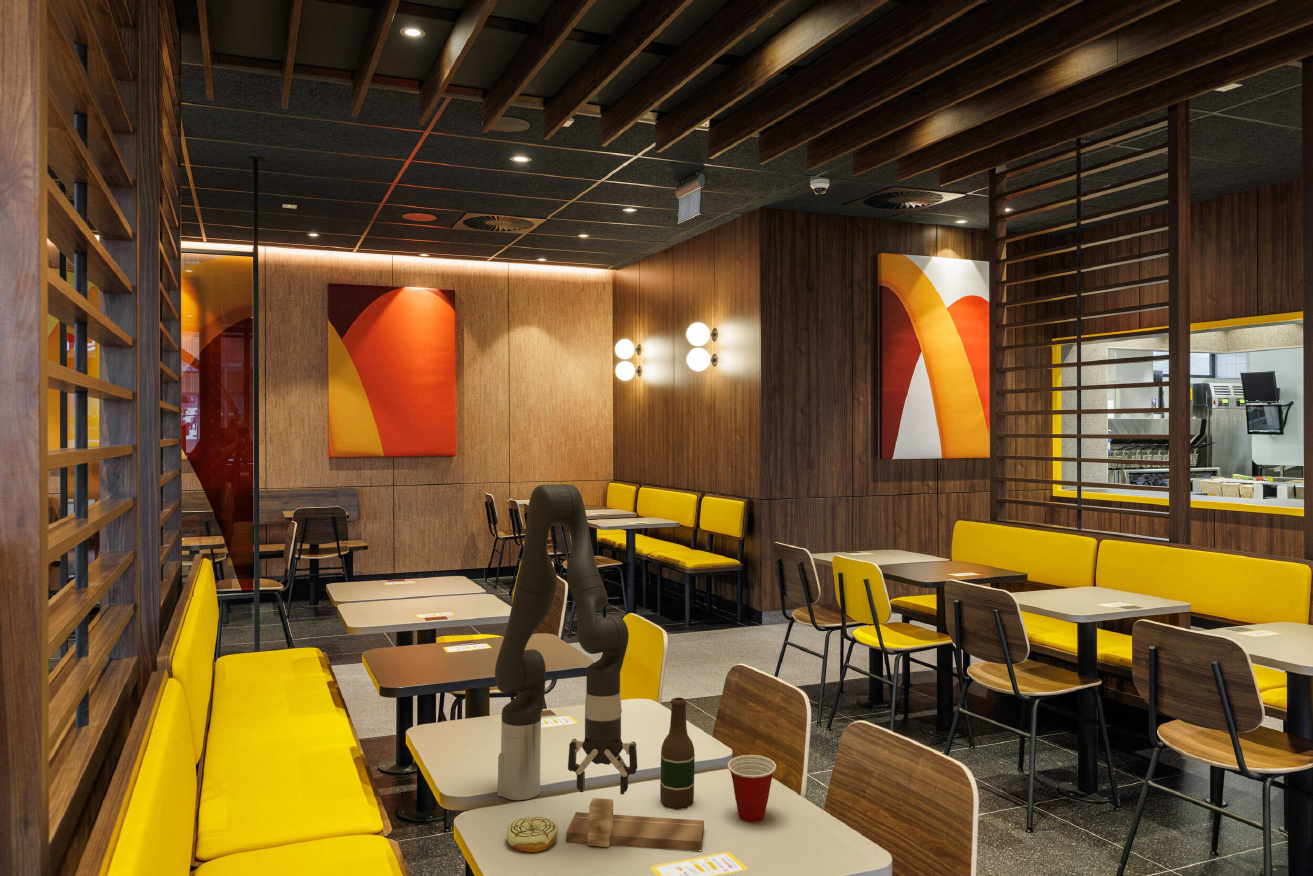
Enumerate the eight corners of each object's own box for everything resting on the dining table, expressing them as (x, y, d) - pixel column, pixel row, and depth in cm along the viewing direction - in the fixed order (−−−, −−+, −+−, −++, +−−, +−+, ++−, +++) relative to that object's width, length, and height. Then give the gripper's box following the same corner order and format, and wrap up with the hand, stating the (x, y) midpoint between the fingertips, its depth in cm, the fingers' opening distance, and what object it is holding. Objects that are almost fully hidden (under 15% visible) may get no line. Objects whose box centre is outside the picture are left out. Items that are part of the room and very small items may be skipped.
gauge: (587, 845, 182) (588, 808, 182) (595, 825, 191) (596, 789, 191) (608, 847, 181) (609, 809, 181) (616, 826, 191) (616, 791, 191)
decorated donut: (503, 855, 178) (503, 837, 178) (508, 831, 189) (509, 814, 189) (555, 854, 179) (556, 836, 179) (558, 831, 190) (558, 813, 190)
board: (566, 842, 184) (566, 832, 184) (575, 821, 194) (576, 812, 194) (701, 851, 181) (701, 841, 181) (703, 829, 191) (704, 820, 191)
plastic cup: (718, 821, 195) (719, 766, 195) (737, 803, 205) (738, 751, 205) (765, 832, 190) (766, 776, 190) (782, 813, 200) (783, 760, 200)
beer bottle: (694, 797, 208) (696, 695, 208) (692, 811, 200) (694, 705, 200) (661, 795, 209) (663, 693, 209) (658, 809, 201) (660, 703, 201)
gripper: (565, 718, 182) (565, 797, 182) (634, 720, 180) (633, 801, 180) (573, 707, 189) (572, 783, 189) (639, 710, 188) (638, 787, 188)
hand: (602, 792), depth 185 cm, fingers open, 8 cm apart
